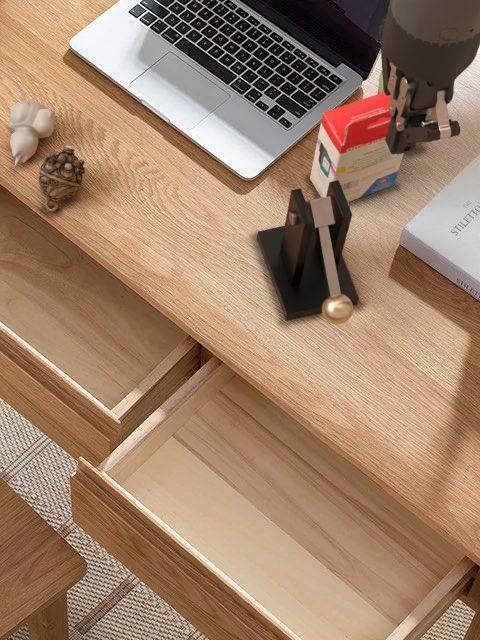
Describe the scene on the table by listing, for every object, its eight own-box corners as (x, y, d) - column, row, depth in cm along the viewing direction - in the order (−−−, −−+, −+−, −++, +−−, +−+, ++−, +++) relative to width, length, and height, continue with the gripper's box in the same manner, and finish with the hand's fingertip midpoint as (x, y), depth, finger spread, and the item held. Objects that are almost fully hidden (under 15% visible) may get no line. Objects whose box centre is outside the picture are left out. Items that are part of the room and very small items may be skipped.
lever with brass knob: (350, 320, 129) (359, 321, 126) (320, 326, 129) (329, 328, 126) (327, 196, 127) (336, 194, 124) (297, 202, 127) (305, 201, 124)
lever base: (357, 305, 134) (378, 238, 122) (285, 320, 133) (299, 255, 122) (325, 223, 138) (342, 151, 127) (256, 238, 138) (267, 167, 126)
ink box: (374, 154, 142) (399, 67, 129) (395, 187, 140) (422, 101, 127) (307, 178, 141) (325, 92, 128) (326, 211, 139) (346, 127, 126)
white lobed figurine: (4, 95, 144) (-16, 158, 143) (40, 88, 139) (20, 154, 138) (37, 116, 148) (18, 177, 146) (74, 110, 143) (54, 174, 142)
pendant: (56, 138, 141) (96, 153, 140) (35, 202, 143) (75, 217, 143) (44, 138, 137) (85, 154, 136) (22, 204, 139) (63, 220, 138)
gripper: (521, 57, 92) (466, 196, 107) (456, -68, 97) (413, 81, 113) (424, 78, 91) (383, 215, 107) (365, -49, 97) (334, 98, 112)
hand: (398, 146), depth 110 cm, fingers closed
